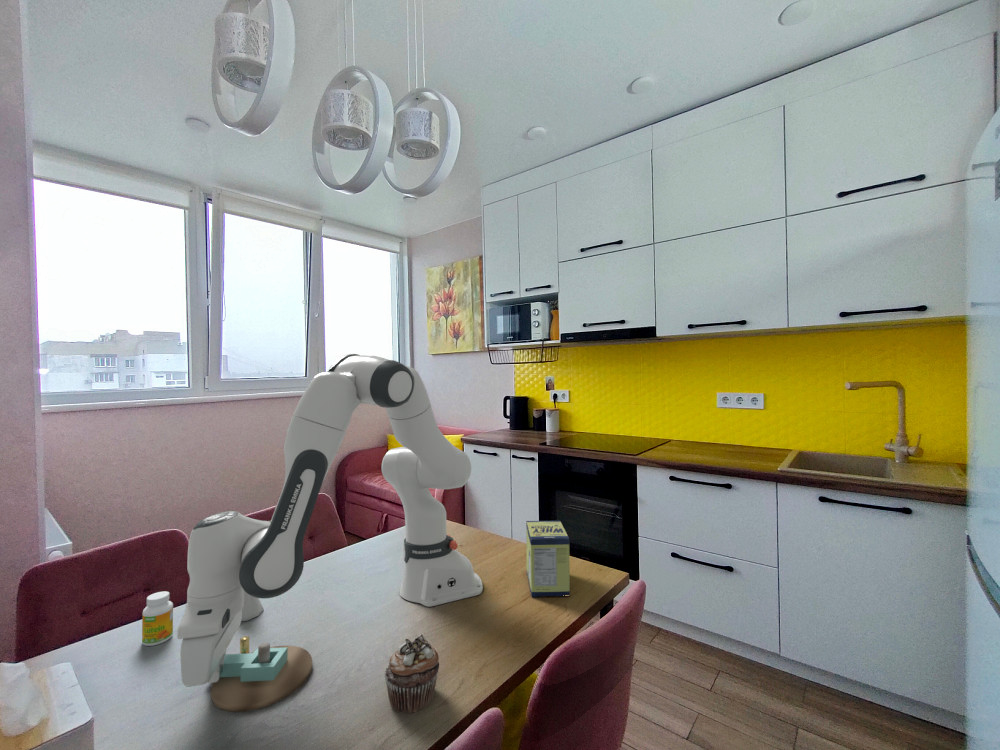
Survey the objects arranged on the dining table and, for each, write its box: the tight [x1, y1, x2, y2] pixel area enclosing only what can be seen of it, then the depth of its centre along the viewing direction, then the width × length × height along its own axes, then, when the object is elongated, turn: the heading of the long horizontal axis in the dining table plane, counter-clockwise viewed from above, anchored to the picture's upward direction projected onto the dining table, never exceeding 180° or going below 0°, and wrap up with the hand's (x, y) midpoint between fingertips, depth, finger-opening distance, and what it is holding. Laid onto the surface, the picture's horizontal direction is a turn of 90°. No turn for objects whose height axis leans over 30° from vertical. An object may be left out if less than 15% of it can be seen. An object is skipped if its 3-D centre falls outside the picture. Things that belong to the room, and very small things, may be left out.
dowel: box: [239, 635, 250, 654], centre depth 88 cm, size 2×2×4 cm
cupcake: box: [384, 633, 440, 714], centre depth 79 cm, size 10×10×10 cm
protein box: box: [525, 520, 571, 598], centre depth 122 cm, size 10×16×16 cm
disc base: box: [210, 642, 313, 713], centre depth 84 cm, size 17×17×6 cm
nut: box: [220, 647, 288, 682], centre depth 84 cm, size 13×6×2 cm, turn 93°
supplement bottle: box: [141, 590, 174, 647], centre depth 97 cm, size 5×5×10 cm
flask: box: [241, 591, 264, 622], centre depth 107 cm, size 7×7×10 cm
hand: (215, 677), depth 81 cm, fingers closed
